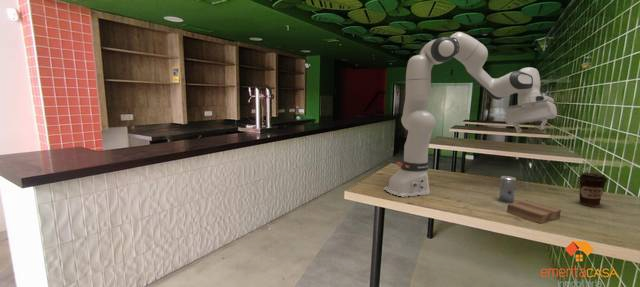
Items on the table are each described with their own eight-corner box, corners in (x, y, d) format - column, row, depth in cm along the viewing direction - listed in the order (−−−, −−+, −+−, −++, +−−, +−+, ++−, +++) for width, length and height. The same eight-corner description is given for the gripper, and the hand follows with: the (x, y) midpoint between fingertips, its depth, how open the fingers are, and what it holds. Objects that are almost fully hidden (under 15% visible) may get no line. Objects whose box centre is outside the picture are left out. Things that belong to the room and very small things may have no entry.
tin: (508, 203, 122) (510, 180, 121) (496, 199, 127) (498, 176, 126) (516, 201, 124) (519, 178, 123) (504, 198, 129) (506, 175, 128)
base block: (540, 223, 103) (541, 215, 102) (506, 212, 114) (507, 204, 113) (559, 217, 108) (560, 210, 107) (525, 206, 119) (526, 199, 118)
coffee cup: (606, 210, 115) (611, 178, 113) (578, 206, 119) (582, 175, 117) (600, 203, 122) (604, 173, 120) (574, 199, 126) (578, 170, 124)
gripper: (502, 105, 143) (502, 132, 141) (550, 95, 125) (552, 126, 123) (510, 108, 146) (510, 134, 144) (558, 98, 128) (559, 128, 126)
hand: (530, 130), depth 133 cm, fingers open, 8 cm apart
